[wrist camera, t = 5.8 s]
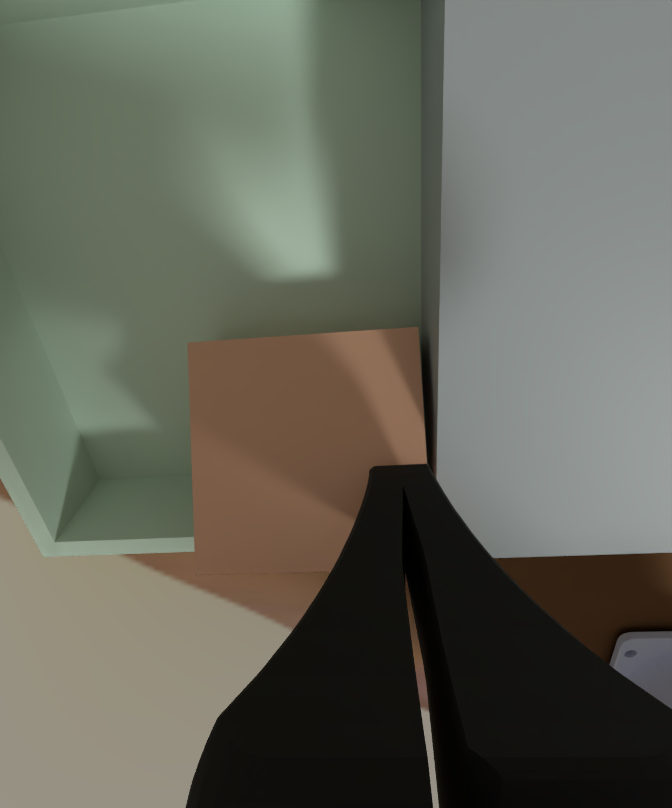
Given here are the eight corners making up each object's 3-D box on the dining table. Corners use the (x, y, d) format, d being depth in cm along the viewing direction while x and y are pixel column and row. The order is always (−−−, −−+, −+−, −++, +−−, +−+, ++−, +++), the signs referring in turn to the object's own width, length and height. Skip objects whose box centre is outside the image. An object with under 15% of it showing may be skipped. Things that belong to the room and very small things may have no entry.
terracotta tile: (425, 548, 14) (433, 568, 12) (220, 555, 14) (195, 576, 12) (412, 341, 14) (418, 326, 12) (212, 354, 15) (187, 342, 13)
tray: (419, 467, 17) (433, 543, 14) (96, 482, 18) (43, 556, 15) (417, -58, 10) (443, -133, 7) (-104, 10, 11) (-279, -31, 8)
